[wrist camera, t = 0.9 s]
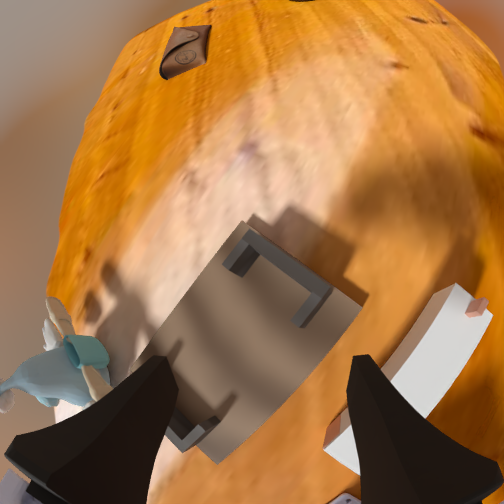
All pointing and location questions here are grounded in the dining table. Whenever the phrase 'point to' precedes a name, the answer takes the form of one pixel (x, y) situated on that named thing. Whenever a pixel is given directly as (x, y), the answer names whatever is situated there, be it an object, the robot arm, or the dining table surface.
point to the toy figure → (61, 366)
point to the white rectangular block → (423, 361)
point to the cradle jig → (245, 341)
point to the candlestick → (300, 0)
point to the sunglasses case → (184, 50)
